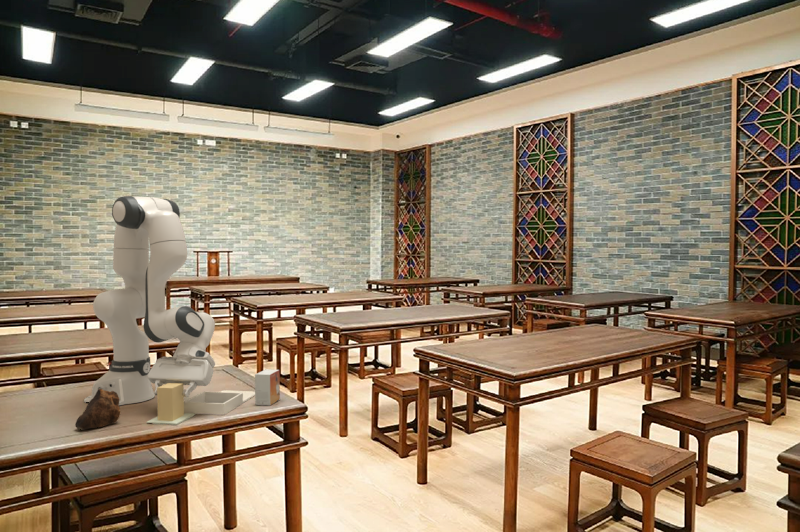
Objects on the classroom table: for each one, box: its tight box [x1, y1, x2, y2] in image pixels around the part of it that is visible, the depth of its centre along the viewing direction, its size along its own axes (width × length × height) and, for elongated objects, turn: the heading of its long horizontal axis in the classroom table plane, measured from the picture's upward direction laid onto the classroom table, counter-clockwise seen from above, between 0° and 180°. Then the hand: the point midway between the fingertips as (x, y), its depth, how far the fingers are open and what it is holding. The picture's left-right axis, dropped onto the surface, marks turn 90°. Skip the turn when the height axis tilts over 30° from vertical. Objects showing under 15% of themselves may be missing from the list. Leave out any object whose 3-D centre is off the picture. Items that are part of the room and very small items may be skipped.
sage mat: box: [146, 413, 196, 426], centre depth 167 cm, size 10×10×1 cm
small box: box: [254, 368, 281, 406], centre depth 185 cm, size 8×6×10 cm
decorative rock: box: [74, 389, 121, 431], centre depth 161 cm, size 12×6×11 cm, turn 139°
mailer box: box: [184, 389, 255, 416], centre depth 185 cm, size 14×26×4 cm, turn 170°
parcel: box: [156, 383, 185, 421], centre depth 167 cm, size 5×6×10 cm
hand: (170, 395), depth 168 cm, fingers open, 8 cm apart
